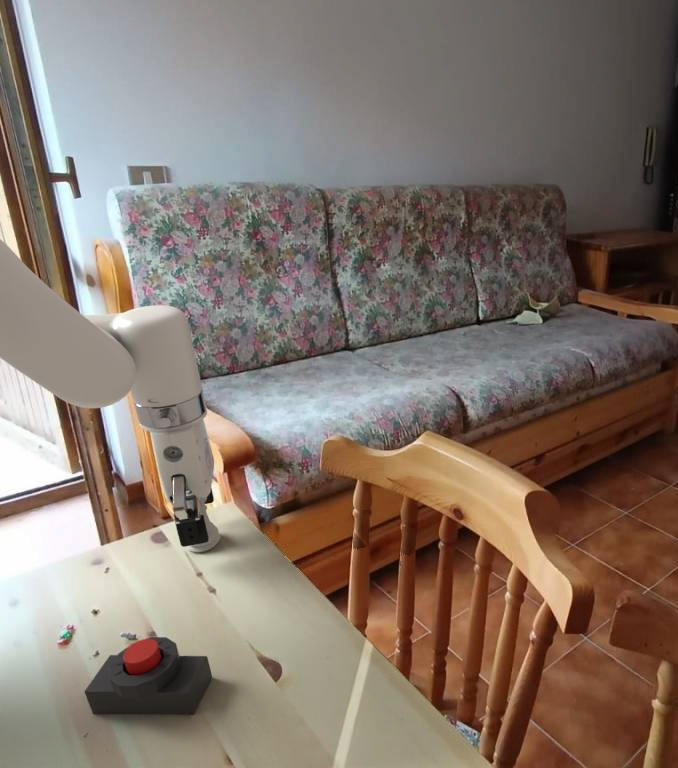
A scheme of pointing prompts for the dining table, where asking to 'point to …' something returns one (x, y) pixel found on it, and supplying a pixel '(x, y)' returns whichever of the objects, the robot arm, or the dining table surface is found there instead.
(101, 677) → the power button base
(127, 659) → the power button
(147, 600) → the dining table surface
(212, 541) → the rook chess piece
